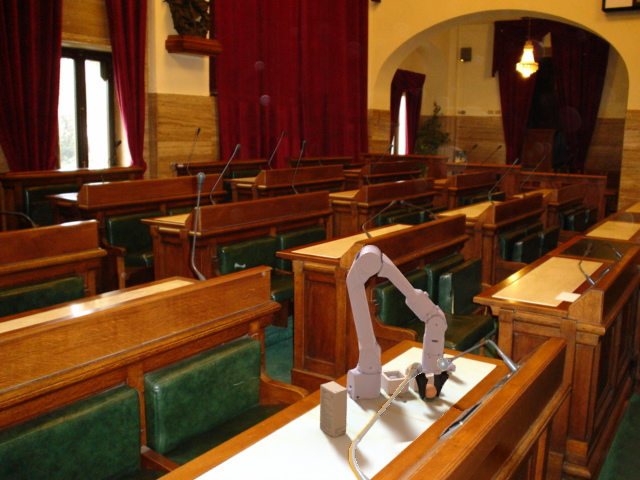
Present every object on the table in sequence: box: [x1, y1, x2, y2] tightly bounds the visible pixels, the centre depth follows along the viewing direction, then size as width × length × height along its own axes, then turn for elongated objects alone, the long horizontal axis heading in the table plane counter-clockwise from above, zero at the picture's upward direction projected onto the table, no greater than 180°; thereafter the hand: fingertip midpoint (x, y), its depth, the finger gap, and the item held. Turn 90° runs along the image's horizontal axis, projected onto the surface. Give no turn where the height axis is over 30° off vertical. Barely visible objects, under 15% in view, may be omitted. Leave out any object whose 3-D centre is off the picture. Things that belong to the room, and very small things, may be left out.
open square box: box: [381, 368, 410, 395], centre depth 184 cm, size 7×7×4 cm
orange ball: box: [425, 384, 437, 398], centre depth 179 cm, size 4×4×4 cm
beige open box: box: [404, 368, 434, 392], centre depth 186 cm, size 7×7×4 cm
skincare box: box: [319, 380, 348, 438], centre depth 161 cm, size 6×4×12 cm
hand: (429, 396), depth 179 cm, fingers closed on orange ball, 4 cm apart
